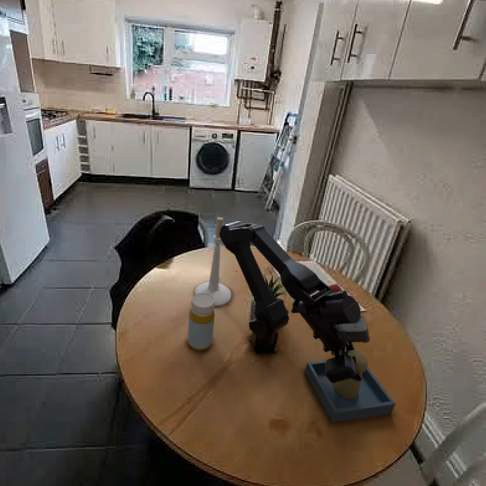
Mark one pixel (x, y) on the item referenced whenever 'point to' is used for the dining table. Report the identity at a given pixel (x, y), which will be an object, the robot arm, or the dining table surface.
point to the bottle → (201, 321)
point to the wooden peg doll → (351, 386)
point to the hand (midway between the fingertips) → (359, 371)
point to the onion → (335, 287)
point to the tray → (341, 409)
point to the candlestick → (216, 274)
